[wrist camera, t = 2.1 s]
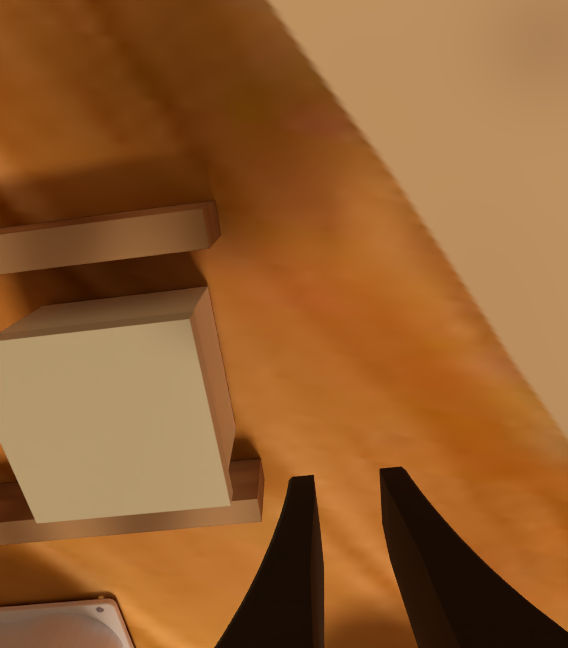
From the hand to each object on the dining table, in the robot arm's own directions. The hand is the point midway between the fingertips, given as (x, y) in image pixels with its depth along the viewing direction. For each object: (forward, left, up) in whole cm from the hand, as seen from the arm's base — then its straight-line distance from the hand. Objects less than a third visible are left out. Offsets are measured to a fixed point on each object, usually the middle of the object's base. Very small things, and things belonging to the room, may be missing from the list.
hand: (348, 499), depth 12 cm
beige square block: (-9, 0, -10) cm, 13 cm away
